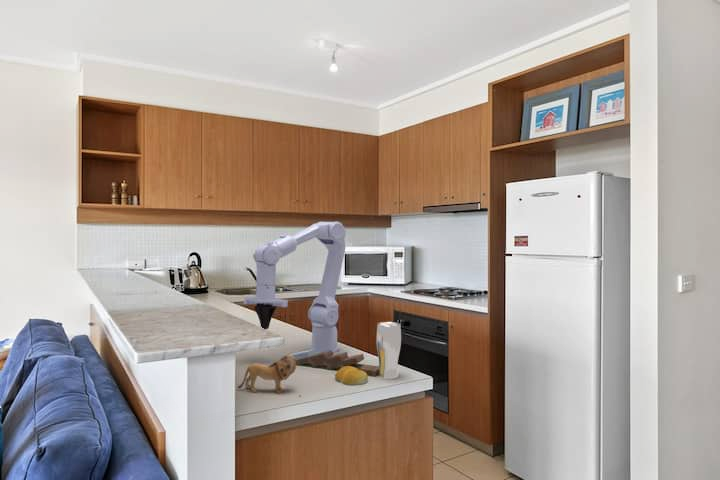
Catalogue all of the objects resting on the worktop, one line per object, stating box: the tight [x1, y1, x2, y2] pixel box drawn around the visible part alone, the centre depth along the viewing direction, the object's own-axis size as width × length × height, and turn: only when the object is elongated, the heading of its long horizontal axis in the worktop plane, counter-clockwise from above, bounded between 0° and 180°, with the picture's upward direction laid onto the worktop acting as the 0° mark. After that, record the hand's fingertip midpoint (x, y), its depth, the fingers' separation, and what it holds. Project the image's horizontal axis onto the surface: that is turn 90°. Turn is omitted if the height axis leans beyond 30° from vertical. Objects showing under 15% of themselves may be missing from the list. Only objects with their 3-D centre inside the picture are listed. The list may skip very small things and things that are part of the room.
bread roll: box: [334, 366, 369, 386], centre depth 135 cm, size 8×9×4 cm
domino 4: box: [326, 353, 365, 370], centre depth 145 cm, size 2×5×10 cm
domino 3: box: [311, 351, 349, 368], centre depth 147 cm, size 2×5×10 cm
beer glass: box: [376, 321, 402, 380], centre depth 140 cm, size 7×7×15 cm
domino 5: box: [342, 363, 379, 377], centre depth 143 cm, size 2×5×10 cm
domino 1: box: [279, 348, 317, 360], centre depth 151 cm, size 2×5×10 cm
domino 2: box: [296, 350, 334, 366], centre depth 149 cm, size 2×5×10 cm
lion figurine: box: [237, 354, 297, 394], centre depth 126 cm, size 15×5×9 cm, turn 96°
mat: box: [272, 360, 342, 373], centre depth 148 cm, size 7×28×1 cm, turn 68°
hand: (265, 328), depth 152 cm, fingers closed
